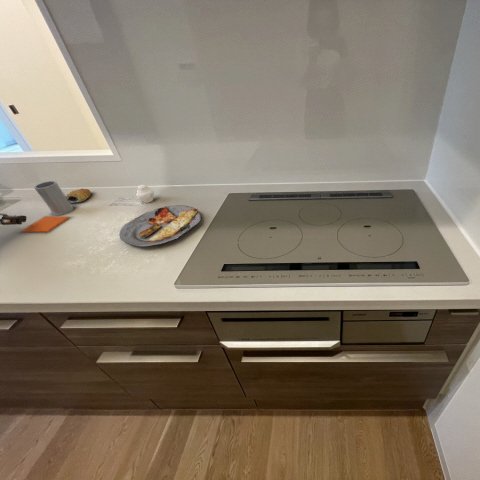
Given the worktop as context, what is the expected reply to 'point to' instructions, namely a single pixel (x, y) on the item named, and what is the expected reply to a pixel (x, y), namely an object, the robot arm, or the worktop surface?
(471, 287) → the worktop surface
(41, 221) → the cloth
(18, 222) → the robot arm
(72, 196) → the pastry
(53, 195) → the grey cylindrical cup
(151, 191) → the white lumpy ball
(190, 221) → the food plate
